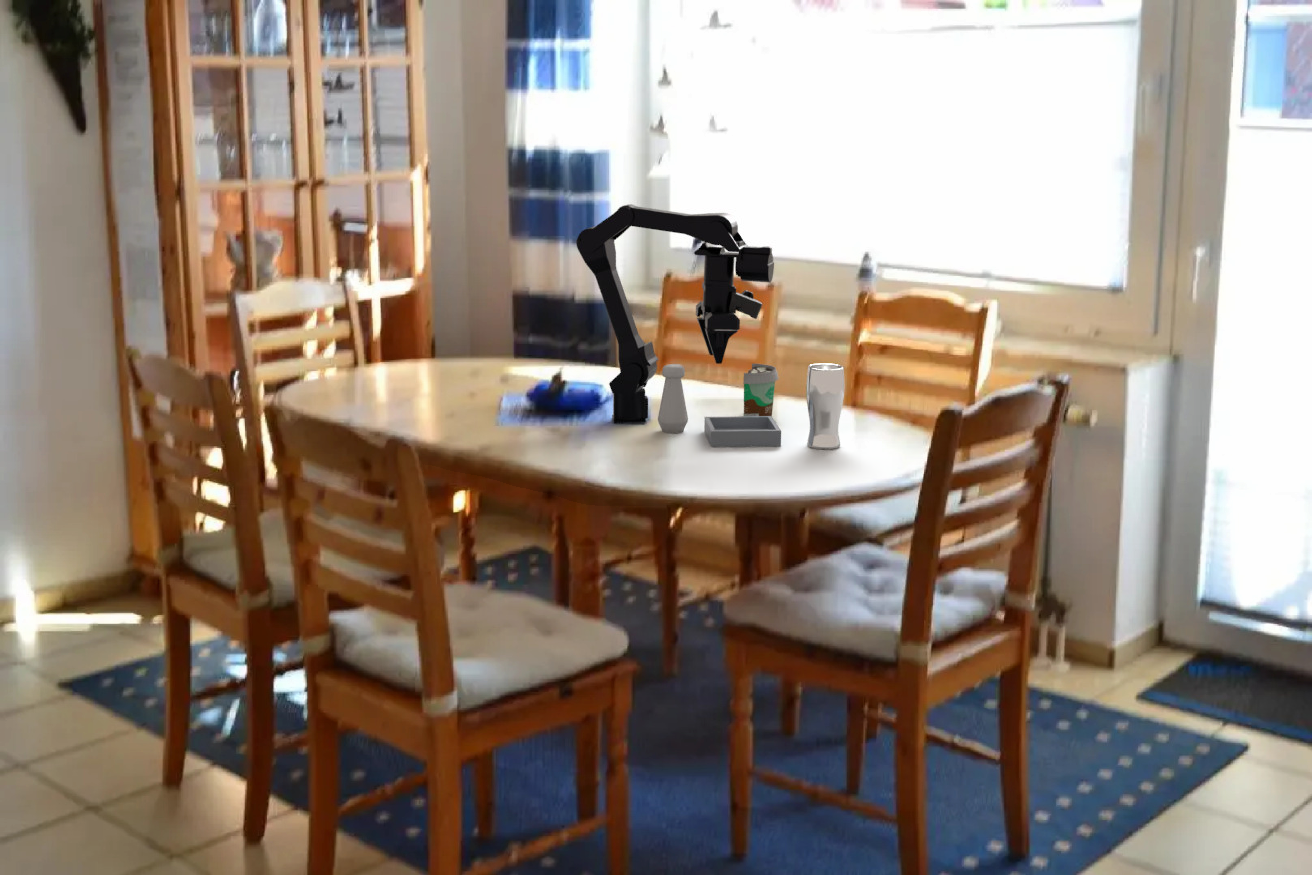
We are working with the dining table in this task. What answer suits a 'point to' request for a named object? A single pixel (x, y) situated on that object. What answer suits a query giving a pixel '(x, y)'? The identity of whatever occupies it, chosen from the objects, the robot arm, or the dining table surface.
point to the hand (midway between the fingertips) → (715, 359)
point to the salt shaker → (673, 400)
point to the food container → (759, 390)
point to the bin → (742, 431)
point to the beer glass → (824, 404)
